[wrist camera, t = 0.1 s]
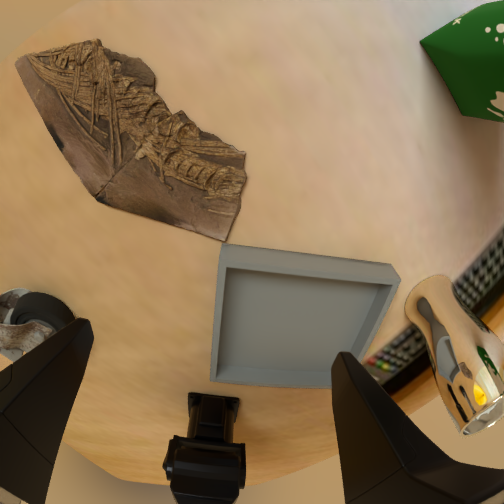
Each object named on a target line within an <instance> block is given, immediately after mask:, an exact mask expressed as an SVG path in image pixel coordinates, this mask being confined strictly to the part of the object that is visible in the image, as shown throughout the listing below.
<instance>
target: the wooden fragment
mask: <svg viewBox="0 0 504 504" xmlns="http://www.w3.org/2000/svg"><path fill="white" fill-rule="evenodd" d="M15 67H16V69H17V71H18V73H19V75H20V77H21V79H22V81H23V84H24V86H25V87H26V89H27V91H28V93H29V95H30V97H31V99H32V100H33V102H34V104H35V106H36V108H37V109H38V112H39V113H40V115H41V117H42V119H43V121H44V123H45V125H46V127H47V129H48V131H49V132H50V134H51V136H52V137H53V139H54V141H55V143H56V144H57V146H58V148H59V149H60V151H61V152H62V154H63V155H64V157H65V159H66V160H67V161H68V163H69V164H70V166H71V167H72V169H73V171H74V172H75V173H76V174H77V175H78V176H79V177H80V179H81V180H82V181H81V182H82V183H83V185H84V186H85V187H86V189H87V190H88V192H89V193H90V194H91V195H92V196H93V197H94V196H95V195H96V194H97V193H98V192H100V193H99V195H98V196H97V195H96V196H97V197H95V199H96V200H97V201H99V202H101V203H104V204H107V205H110V206H112V207H116V208H120V209H123V210H126V211H129V212H132V213H136V214H140V215H142V216H146V217H149V218H152V219H155V220H159V221H162V222H165V223H168V224H173V225H175V226H178V227H183V228H186V229H188V230H193V231H194V232H199V233H201V234H203V235H207V236H210V237H214V238H215V239H219V240H222V241H227V238H228V235H229V232H230V230H231V227H232V225H233V223H234V220H235V218H236V217H237V215H238V213H239V211H240V209H241V198H240V192H241V189H242V186H243V184H244V182H245V180H246V173H245V171H244V169H243V165H244V159H245V151H238V150H237V149H236V148H235V147H234V146H231V145H228V144H226V143H223V142H222V141H221V140H220V139H219V138H218V137H217V136H215V135H214V134H210V133H208V132H203V131H201V130H200V129H199V128H198V127H196V126H195V123H194V122H192V121H191V120H190V119H189V118H188V117H187V116H186V114H185V113H184V112H183V111H182V110H181V111H179V112H178V113H175V114H173V115H172V114H171V112H170V111H169V109H168V108H167V107H166V104H165V103H164V101H163V100H162V98H161V97H160V96H159V95H158V94H157V93H155V80H154V73H153V72H152V71H151V69H150V68H149V67H148V66H147V65H146V64H145V63H144V62H143V61H142V60H141V59H140V58H132V57H128V56H126V55H124V54H119V53H117V52H111V51H110V50H109V49H107V48H104V47H103V46H102V45H101V41H100V40H99V39H93V40H88V41H84V42H81V43H71V44H68V45H65V46H64V47H62V48H53V49H50V50H46V51H44V52H40V53H38V54H36V53H28V54H26V55H24V56H22V57H20V58H18V60H17V61H16V62H15Z"/></svg>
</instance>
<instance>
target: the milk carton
mask: <svg viewBox="0 0 504 504" xmlns="http://www.w3.org/2000/svg"><path fill="white" fill-rule="evenodd" d="M420 43H421V44H422V46H423V47H424V49H425V50H426V52H427V53H428V55H429V56H430V58H431V59H432V61H433V63H434V64H435V66H436V68H437V69H438V71H439V73H440V74H441V76H442V78H443V79H444V81H445V83H446V85H447V86H448V88H449V90H450V92H451V94H452V96H453V98H454V100H455V101H456V103H457V105H458V107H459V109H460V111H461V113H462V115H463V116H470V117H476V118H482V119H488V120H493V121H498V122H503V123H504V0H502V1H496V2H491V3H486V4H483V5H480V6H478V7H476V8H474V9H472V10H470V11H468V12H466V13H465V14H463V15H461V16H460V17H458V18H456V19H454V20H453V21H451V22H449V23H448V24H446V25H445V26H443V27H441V28H440V29H438V30H437V31H435V32H433V33H432V34H430V35H429V36H427V37H425V38H424V39H422V40H421V41H420Z"/></svg>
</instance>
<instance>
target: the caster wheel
mask: <svg viewBox="0 0 504 504" xmlns="http://www.w3.org/2000/svg"><path fill="white" fill-rule="evenodd" d="M74 320H75V318H74V316H73V314H72V312H71V311H70V310H69V308H68V307H67V306H66V305H65V304H63V303H62V302H61V301H59V300H58V299H56V298H55V297H53V296H51V295H48V294H45V293H40V292H31V291H29V290H27V289H25V288H15V289H11V290H9V291H6V292H4V293H3V294H1V295H0V354H2V355H3V356H5V357H7V358H8V359H10V360H11V361H13V362H15V361H16V360H18V359H19V358H20V357H22V355H23V352H24V351H25V352H27V353H28V352H29V351H30V350H32V349H33V348H35V347H36V346H38V345H39V344H40V343H42V342H43V341H45V340H46V339H48V338H49V337H51V336H52V335H53V334H55V333H56V332H58V331H59V330H61V329H62V328H64V327H65V326H67V325H68V324H70V323H71V322H73V321H74Z"/></svg>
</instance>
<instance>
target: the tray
mask: <svg viewBox="0 0 504 504" xmlns="http://www.w3.org/2000/svg"><path fill="white" fill-rule="evenodd" d="M400 282H401V278H400V277H399V275H398V274H397V272H396V271H395V269H394V268H393V266H392V265H391V264H387V263H379V262H371V261H363V260H355V259H347V258H339V257H331V256H323V255H315V254H307V253H299V252H291V251H283V250H274V249H266V248H258V247H250V246H242V245H233V244H225V243H222V246H221V251H220V256H219V264H218V275H217V287H216V299H215V311H214V324H213V338H212V353H211V368H210V381H213V382H221V383H231V384H241V385H253V386H266V387H284V388H319V389H332V384H331V367H332V364H333V362H334V360H335V358H336V356H337V354H338V353H339V352H340V351H346V352H351V353H352V354H353V356H354V357H355V358H356V359H357V360H358V361H359V362H360V363H361V361H362V359H363V357H364V355H365V354H366V352H367V350H368V348H369V346H370V344H371V342H372V340H373V338H374V337H375V335H376V333H377V331H378V329H379V327H380V325H381V323H382V321H383V319H384V317H385V314H386V312H387V310H388V308H389V306H390V304H391V302H392V300H393V297H394V295H395V293H396V291H397V288H398V286H399V284H400Z"/></svg>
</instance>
